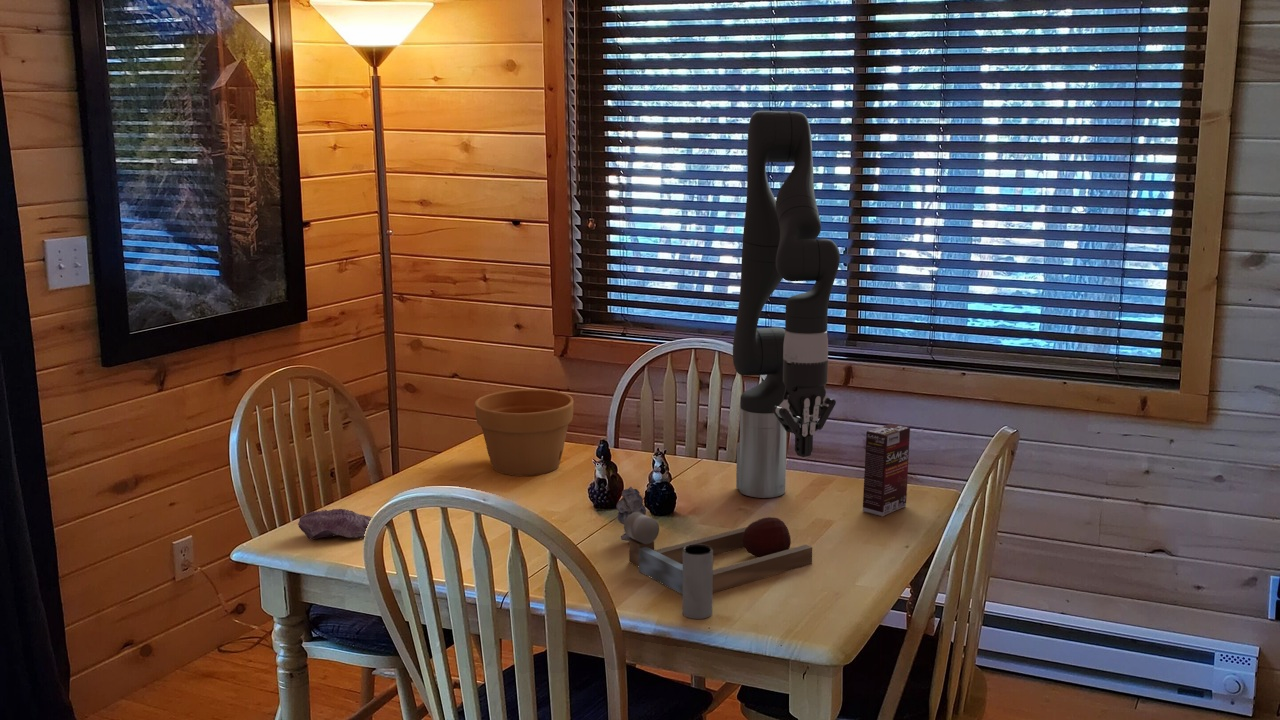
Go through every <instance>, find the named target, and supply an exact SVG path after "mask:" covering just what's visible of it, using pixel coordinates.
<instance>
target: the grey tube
mask: <svg viewBox="0 0 1280 720" xmlns="http://www.w3.org/2000/svg"><path fill="white" fill-rule="evenodd" d="M713 559H714V556H713V549H712V548H711V547H710V546H707V545H703V544H692V545H688V546H685V547H684V548H683V564H682V565H683V595H682V608H681V609H682V615H683V616H684V617H686V618H689V619H692V620H704V619H708V618H710V617H711V616H712V615H713V570H714V567H713V565H714V561H713Z"/></svg>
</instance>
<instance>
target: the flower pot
mask: <svg viewBox="0 0 1280 720" xmlns="http://www.w3.org/2000/svg"><path fill="white" fill-rule="evenodd" d="M574 401H575V400H574V398H573V397H572V396H571V395H570V394H568V393H564V392H561V391H557V390H550V389H535V388H534V389H533V388H530V389H529V388H525V389H521V388H519V389H507V390H501V391H496V392H491V393H489V394H488V393H487V394H484V395H483V396H480V397H478V398H477V399H476V400H475V402H474V411H475V418H476V423H477V424H478V426H479V427H480V428H481V430H482V435H483V438H484V442H485V444H486V445H485V446H486V451H487V453H488V454H487V455H488V457H489V461H490V463H491V466H492V468H493V470H495V471H496V472H498V473H499V474H503V475H507V476H508V475H510V476H516V477H517V476H519V477H520V476H521V477H529V476H530V477H531V476H538V475H543V474H547V473H550V472H553V471H555V470H556V469H558V468H559V466H560V464H561V459H562V457H563V452H564V447H565V442H566V438H567V433H568V427H569V424H570V423H571V422H572V421H573V418H574V405H575V404H574Z"/></svg>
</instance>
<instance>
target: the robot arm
mask: <svg viewBox="0 0 1280 720" xmlns="http://www.w3.org/2000/svg"><path fill="white" fill-rule="evenodd" d="M809 122H810V121H809V119H808V117H807V116H806V115H805V114H804V113H802V112H801V111H787V110H786V111H781V110H780V111H779V110H758V111H755V112H754V113H752V114H751V117H750V119H749V123H748V128H747V151H746V152H747V154H746V155H747V161H746V163H747V165H746V169H747V170H746V174H747V175H746V176H747V177H746V203H745V213H744V214H745V215H744V223H743V233H742V246H741V248H742V249H741V267H740V269H741V270H740V286H739V287H740V289H739V299H738V305H737V306H738V308H737V315H736V322H735V328H734V333H733V334H734V335H733V344H732V362H733V366H734V371H736V373H737V374H738V375H740V376H744V377H745V376H746V377H751V376H752V377H753V376H765V378H764V379H763V380H762V381H761V382H760V383H759V384H757V385H755V386H754V387H752V388H749V389H747V390H745V391H743V392H742V394H741V395H740V399H739V400H740V402H739V407H740V410H739V411H740V412H739V413H740V415H739V417H740V418H739V420H740V421H739V442H737V443H736V470H735V471H736V481H735V482H736V483H735V485H736V486H735V487H736V489H738V490H739V493H740V494H742V495H744V496H748V497H752V498H759V499H767V498H776V497H780V496H783V495H784V494H785V493H786V476H787V475H786V472H787V433H790V434H794V451H795V453H796V455H797V456H799V457H800V458H806V457H811V456H812V452H813V450H814V447H813V445H814V443H813V442H814V435H815V432H816V431H821V430H822V429H823V427H824V426H825V424H826V422H827V420H828V418H829V416H830V415H831V414H832V411H833V410H834V408H835V406H836V400H835V399H834V398H830V397H829V396H828V395H827V390H826V388H825V386H826V385H827V383H828V371H829V368H828V367H829V363H828V362H829V340H828V312H829V311H828V309H829V302H830V297H831V294H832V289H833V285H834V283H835V280H836V276H837V273H838V270H839V266H840V263H841V262H840V261H841V254H840V250H839V247H838V245H837V244H836V243H835V241H834V240H832V239H829V238H818V237H819V235H820V234H821V231H822V223H821V217H820V214H819V208H818V204H817V201H816V195H815V185H814V183H815V182H814V161H813V160H814V159H813V158H814V157H813V145H812V144H813V143H812V141H813V140H812V132H811V126H810V123H809ZM767 163H794V165H793V168H792V169H791V172H790V173H789V175H788V176H787V177H786V179H785V180H784V182H782V184H781V186H780V188H779V190H778V192H777V194H776V197H775V196H774V194H773V192H772V188H771V187H770V184H769V180H768V176H767V168H766V166H767ZM783 280H784V281H787V282H815V283H814V284H813V287H812V288H811V289H809V290H808V291H806V292H804V293H803V292H802V293H799V294H794V295H791V296H790V297H788V298H787V300H786V301H785V313H784V314H785V316H784V317H785V318H784V319H785V320H784V321H785V323H784V327H785V328H783V327H779V326H778V327H759V328H758V324H759V320H760V317H761V314H762V310H763V309H764V306H765V305H766V303H767V301H768V300H769V298H770V297H771V296H772V294H773V293H774V292H775V290H776V289H777V287H778V286H779V285H780V283H781V282H782V281H783Z"/></svg>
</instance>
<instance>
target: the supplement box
mask: <svg viewBox="0 0 1280 720" xmlns="http://www.w3.org/2000/svg"><path fill="white" fill-rule="evenodd" d="M910 433H911V428H910V427H908V426H904V425H900V424H895V423H889V424H887V425H883V426H880V427H877V428H874V429H870V430H867V431H866V434H865V456H864V473H863V474H864V477H863V478H864V479H863V496H862V511H863V512H864V513H866V514H870V515H871V514H872V515H875V516H878V517H884V516H886V515H888V514H891V513H893V512H895V511H898V510H900V509H903V508H906V507H907V497H908V478H909V477H908V475H909V474H908V473H909V472H908V470H909V457H910V456H909V454H910V453H909V452H910V435H911V434H910ZM905 506H906V507H905Z"/></svg>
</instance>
